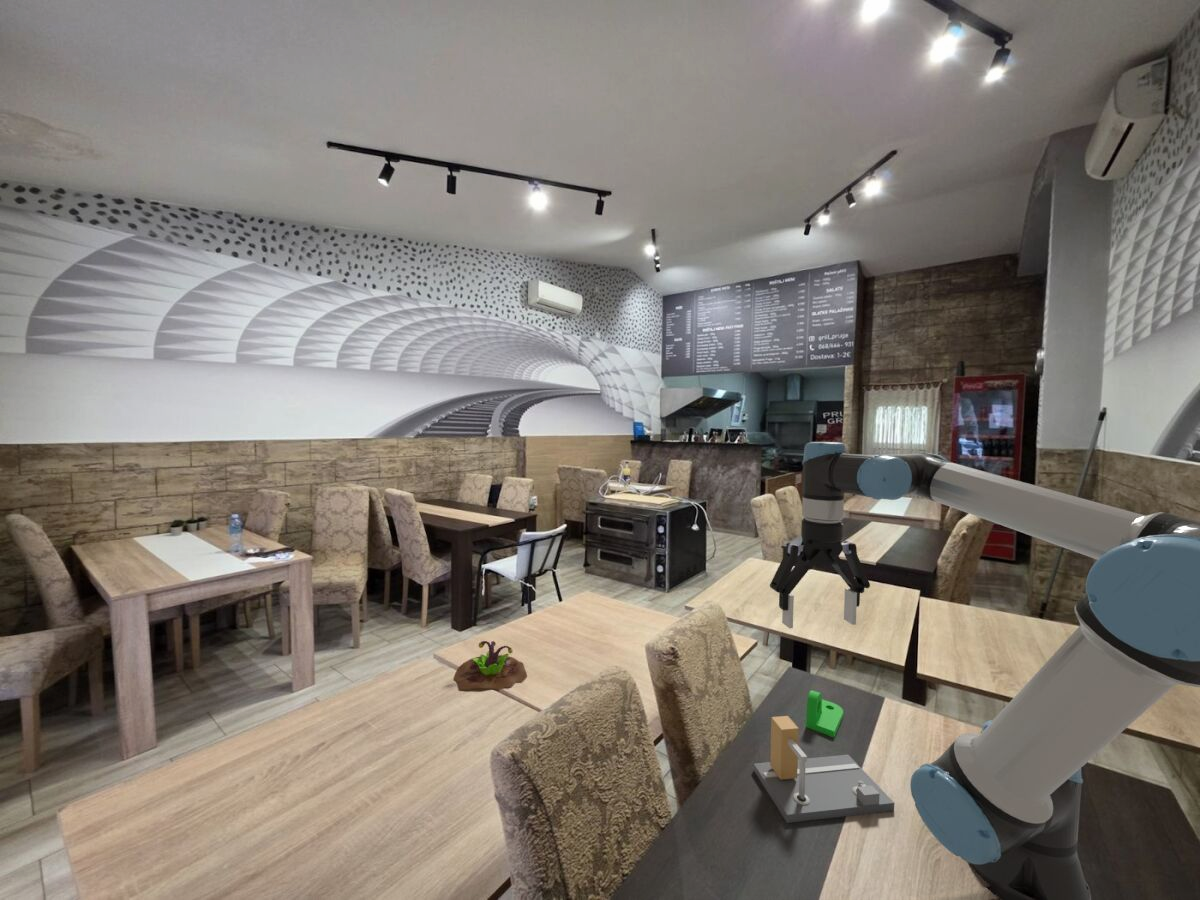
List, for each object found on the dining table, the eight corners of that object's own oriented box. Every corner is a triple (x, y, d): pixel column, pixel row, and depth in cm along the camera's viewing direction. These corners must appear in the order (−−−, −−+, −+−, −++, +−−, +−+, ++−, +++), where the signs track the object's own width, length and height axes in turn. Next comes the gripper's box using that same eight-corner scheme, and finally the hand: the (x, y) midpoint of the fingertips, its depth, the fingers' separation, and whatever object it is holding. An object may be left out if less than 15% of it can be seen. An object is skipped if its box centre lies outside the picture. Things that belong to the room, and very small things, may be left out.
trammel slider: (812, 797, 88) (813, 745, 88) (794, 799, 88) (795, 746, 87) (786, 763, 97) (787, 715, 97) (770, 765, 97) (771, 717, 96)
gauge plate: (894, 810, 88) (894, 792, 88) (787, 822, 85) (787, 804, 85) (847, 761, 101) (848, 745, 100) (753, 770, 98) (754, 754, 98)
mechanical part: (834, 740, 108) (835, 705, 107) (806, 729, 112) (807, 696, 111) (845, 715, 117) (846, 683, 117) (819, 706, 121) (820, 675, 121)
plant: (454, 666, 140) (454, 629, 139) (521, 658, 145) (521, 621, 145) (452, 704, 121) (452, 661, 120) (530, 693, 126) (530, 652, 125)
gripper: (866, 514, 101) (862, 613, 102) (754, 517, 97) (751, 619, 98) (892, 521, 93) (888, 628, 94) (772, 524, 90) (770, 635, 91)
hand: (818, 623), depth 96 cm, fingers open, 13 cm apart
